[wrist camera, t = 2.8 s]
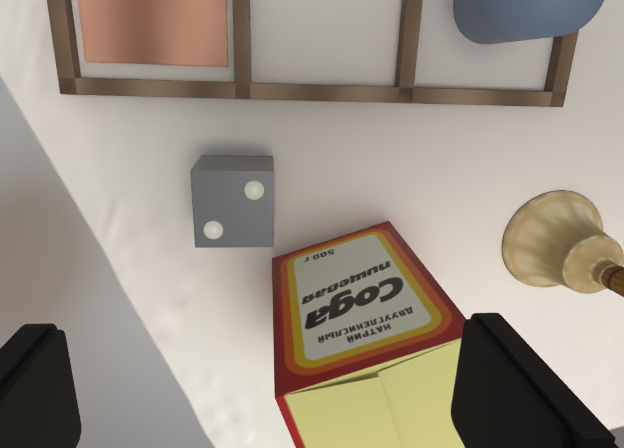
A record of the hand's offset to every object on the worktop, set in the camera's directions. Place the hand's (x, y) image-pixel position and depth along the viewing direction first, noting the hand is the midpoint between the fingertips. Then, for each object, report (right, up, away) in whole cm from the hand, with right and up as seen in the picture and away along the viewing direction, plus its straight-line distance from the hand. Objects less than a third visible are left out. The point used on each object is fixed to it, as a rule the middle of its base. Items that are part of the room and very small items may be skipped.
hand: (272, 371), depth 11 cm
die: (-4, +6, +22) cm, 24 cm away
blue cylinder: (+13, +18, +20) cm, 30 cm away
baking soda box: (+3, -1, +26) cm, 26 cm away
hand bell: (+20, +2, +26) cm, 33 cm away
